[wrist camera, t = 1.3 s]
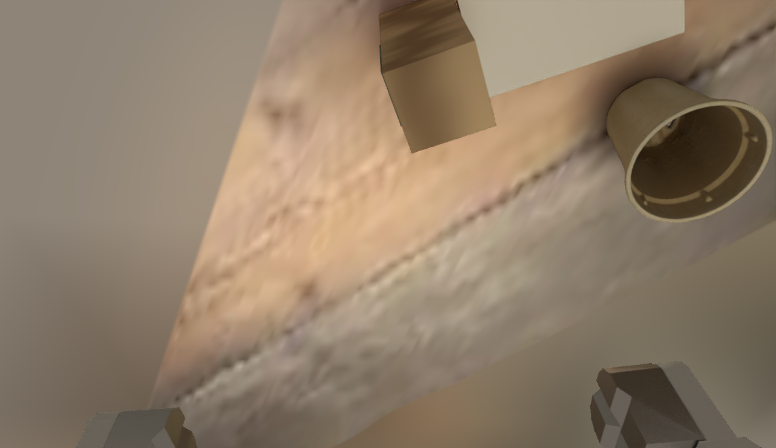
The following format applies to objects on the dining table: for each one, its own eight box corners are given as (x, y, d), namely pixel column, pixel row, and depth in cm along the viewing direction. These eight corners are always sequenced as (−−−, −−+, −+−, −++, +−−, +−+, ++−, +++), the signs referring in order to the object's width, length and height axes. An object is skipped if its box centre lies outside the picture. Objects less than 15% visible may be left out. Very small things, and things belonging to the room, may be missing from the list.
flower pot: (584, 175, 45) (623, 234, 38) (583, 72, 39) (629, 119, 32) (695, 152, 44) (757, 209, 37) (711, 43, 38) (787, 85, 31)
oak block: (446, -11, 36) (474, 40, 26) (464, 56, 38) (496, 125, 29) (375, 16, 37) (376, 75, 27) (397, 80, 39) (406, 154, 30)
